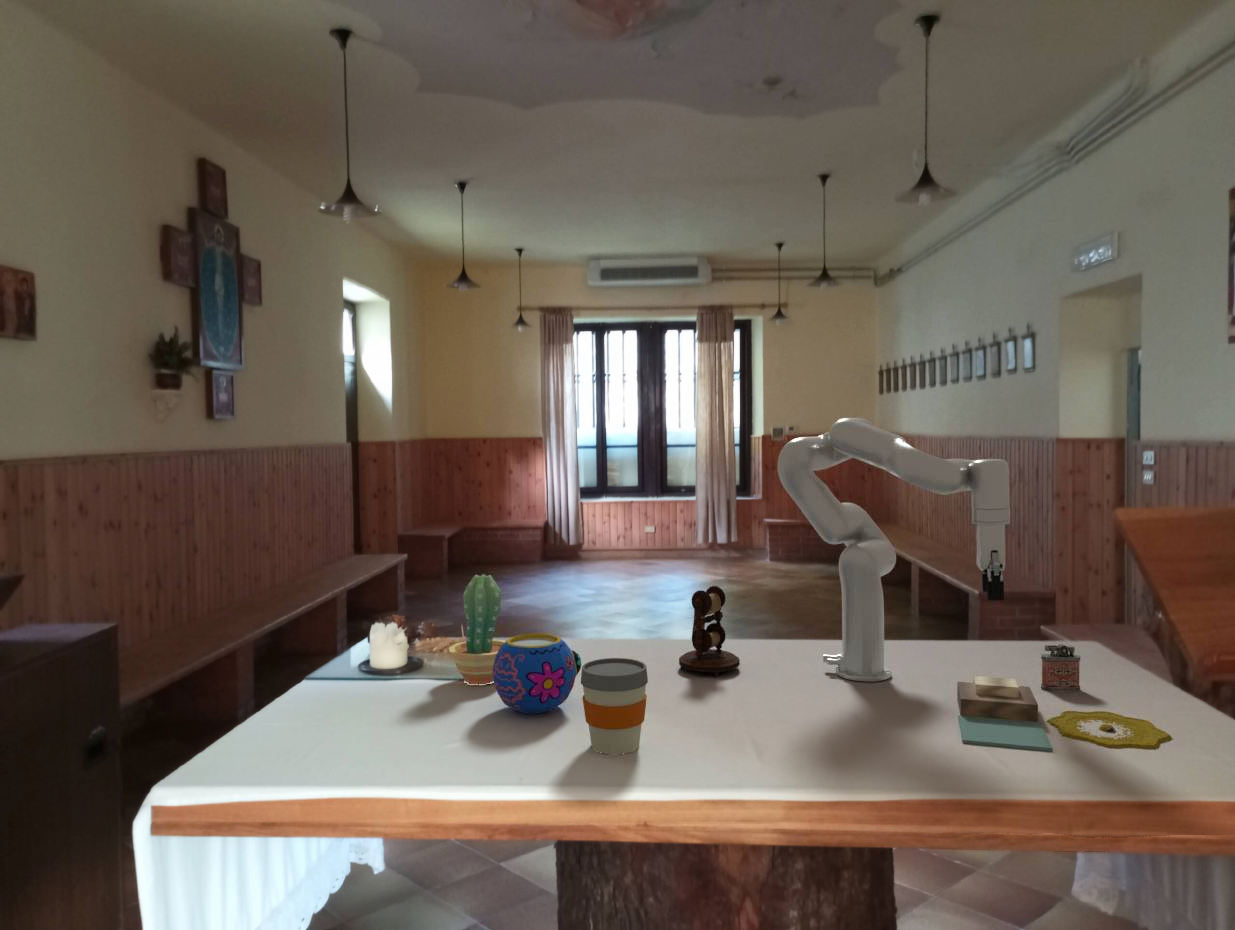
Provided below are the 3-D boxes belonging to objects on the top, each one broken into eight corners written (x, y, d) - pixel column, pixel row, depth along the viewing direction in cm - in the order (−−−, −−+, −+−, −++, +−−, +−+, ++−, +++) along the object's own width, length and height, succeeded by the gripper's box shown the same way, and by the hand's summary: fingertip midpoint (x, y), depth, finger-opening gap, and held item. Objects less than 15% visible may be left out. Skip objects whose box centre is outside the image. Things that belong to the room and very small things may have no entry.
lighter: (1076, 687, 191) (1076, 642, 190) (1082, 691, 187) (1083, 646, 187) (1038, 686, 191) (1038, 642, 191) (1044, 691, 188) (1044, 646, 188)
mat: (962, 742, 159) (962, 739, 159) (958, 718, 172) (958, 715, 172) (1052, 751, 154) (1052, 748, 154) (1040, 725, 167) (1040, 722, 167)
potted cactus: (527, 676, 206) (525, 573, 205) (485, 693, 193) (482, 583, 192) (479, 667, 214) (476, 568, 213) (435, 683, 201) (432, 578, 200)
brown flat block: (960, 718, 172) (960, 698, 171) (957, 699, 183) (957, 681, 183) (1037, 724, 167) (1037, 704, 167) (1029, 705, 179) (1029, 686, 178)
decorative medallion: (1034, 713, 175) (1034, 706, 175) (1136, 715, 173) (1136, 708, 173) (1074, 749, 156) (1074, 741, 155) (1189, 752, 153) (1189, 744, 153)
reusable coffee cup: (626, 763, 152) (625, 680, 151) (568, 750, 158) (567, 670, 157) (661, 741, 162) (659, 662, 161) (605, 729, 169) (604, 654, 168)
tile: (975, 693, 174) (975, 684, 174) (973, 685, 180) (973, 675, 180) (1018, 697, 172) (1018, 687, 172) (1014, 688, 177) (1014, 678, 177)
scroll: (698, 658, 220) (697, 580, 219) (750, 666, 211) (749, 586, 210) (667, 672, 208) (666, 590, 207) (721, 681, 199) (720, 596, 198)
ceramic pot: (594, 707, 182) (592, 637, 182) (531, 730, 169) (529, 655, 169) (539, 691, 194) (537, 625, 193) (476, 711, 181) (474, 641, 180)
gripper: (968, 513, 193) (970, 588, 194) (975, 520, 177) (978, 603, 177) (1004, 512, 191) (1006, 589, 191) (1015, 520, 174) (1017, 603, 175)
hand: (993, 595), depth 184 cm, fingers open, 9 cm apart
